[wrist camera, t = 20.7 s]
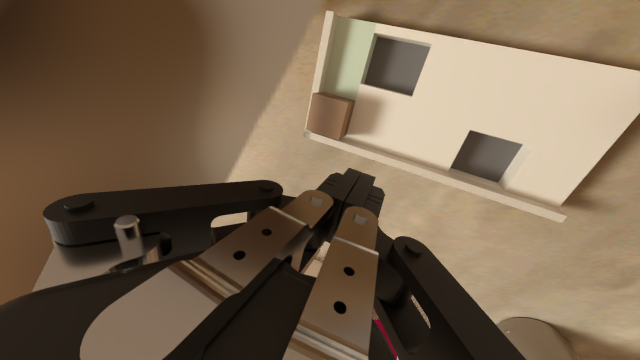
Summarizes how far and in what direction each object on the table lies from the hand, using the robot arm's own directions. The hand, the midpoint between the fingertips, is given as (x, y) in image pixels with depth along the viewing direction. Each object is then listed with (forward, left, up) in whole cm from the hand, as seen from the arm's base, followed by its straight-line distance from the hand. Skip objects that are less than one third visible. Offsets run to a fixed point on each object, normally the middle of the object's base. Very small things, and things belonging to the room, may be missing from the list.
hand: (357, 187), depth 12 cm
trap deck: (-5, -3, -25) cm, 26 cm away
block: (+8, +1, -22) cm, 24 cm away
